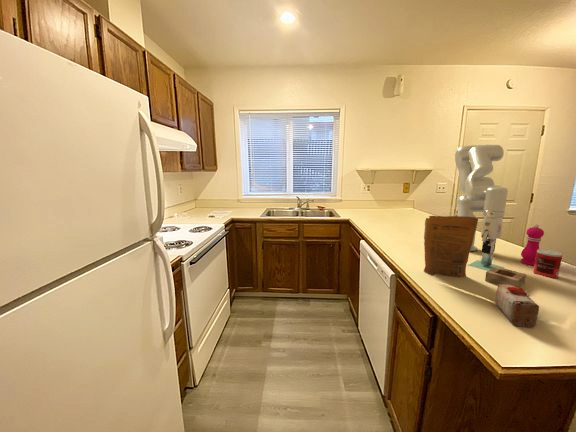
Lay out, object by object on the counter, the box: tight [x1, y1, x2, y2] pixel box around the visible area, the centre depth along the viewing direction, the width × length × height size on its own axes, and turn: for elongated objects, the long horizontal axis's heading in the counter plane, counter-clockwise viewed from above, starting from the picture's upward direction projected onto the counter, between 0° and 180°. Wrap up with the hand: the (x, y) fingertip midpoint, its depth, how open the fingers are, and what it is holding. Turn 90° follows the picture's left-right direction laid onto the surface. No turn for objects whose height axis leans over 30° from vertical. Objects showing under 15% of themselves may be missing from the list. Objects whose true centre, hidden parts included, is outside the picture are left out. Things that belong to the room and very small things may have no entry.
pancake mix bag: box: [423, 215, 479, 278], centre depth 109 cm, size 7×19×28 cm, turn 61°
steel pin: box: [480, 240, 496, 266], centre depth 117 cm, size 4×4×12 cm
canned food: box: [532, 248, 563, 280], centre depth 108 cm, size 8×8×11 cm
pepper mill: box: [520, 223, 545, 267], centre depth 120 cm, size 7×7×20 cm
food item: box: [495, 284, 540, 329], centre depth 81 cm, size 14×8×10 cm, turn 160°
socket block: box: [484, 266, 527, 288], centre depth 102 cm, size 10×10×5 cm
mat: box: [467, 259, 505, 272], centre depth 118 cm, size 11×11×1 cm
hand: (487, 251), depth 117 cm, fingers closed on steel pin, 4 cm apart
